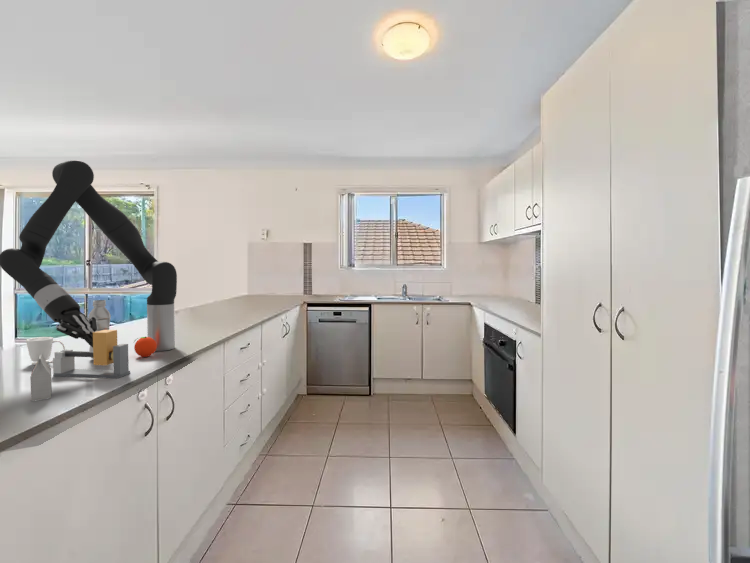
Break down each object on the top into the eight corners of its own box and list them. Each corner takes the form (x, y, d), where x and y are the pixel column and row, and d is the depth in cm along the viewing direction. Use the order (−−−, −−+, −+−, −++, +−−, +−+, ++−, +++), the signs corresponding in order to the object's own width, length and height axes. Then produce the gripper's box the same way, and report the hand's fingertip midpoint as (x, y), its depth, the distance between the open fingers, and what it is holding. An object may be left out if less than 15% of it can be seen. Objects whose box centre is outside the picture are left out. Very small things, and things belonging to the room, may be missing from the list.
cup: (28, 362, 137) (28, 337, 136) (66, 358, 142) (65, 335, 141) (24, 366, 130) (23, 341, 130) (63, 363, 136) (63, 338, 135)
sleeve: (93, 365, 120) (92, 332, 119) (105, 361, 124) (104, 329, 124) (106, 365, 120) (105, 332, 119) (117, 361, 124) (117, 330, 124)
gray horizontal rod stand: (53, 375, 121) (52, 345, 120) (67, 371, 126) (66, 341, 125) (118, 377, 119) (118, 347, 119) (130, 373, 124) (129, 343, 124)
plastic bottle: (93, 362, 137) (92, 301, 136) (86, 359, 141) (84, 300, 140) (115, 358, 142) (114, 300, 141) (107, 355, 147) (105, 299, 146)
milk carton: (51, 391, 107) (50, 352, 106) (50, 398, 102) (49, 358, 101) (33, 393, 105) (32, 354, 104) (31, 401, 99) (29, 360, 99)
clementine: (127, 358, 143) (126, 338, 142) (139, 354, 150) (138, 334, 149) (149, 359, 142) (149, 338, 142) (160, 354, 149) (160, 334, 149)
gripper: (45, 296, 115) (88, 340, 115) (82, 292, 129) (121, 332, 128) (28, 314, 116) (71, 359, 116) (67, 309, 129) (105, 349, 129)
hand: (97, 345), depth 122 cm, fingers closed
